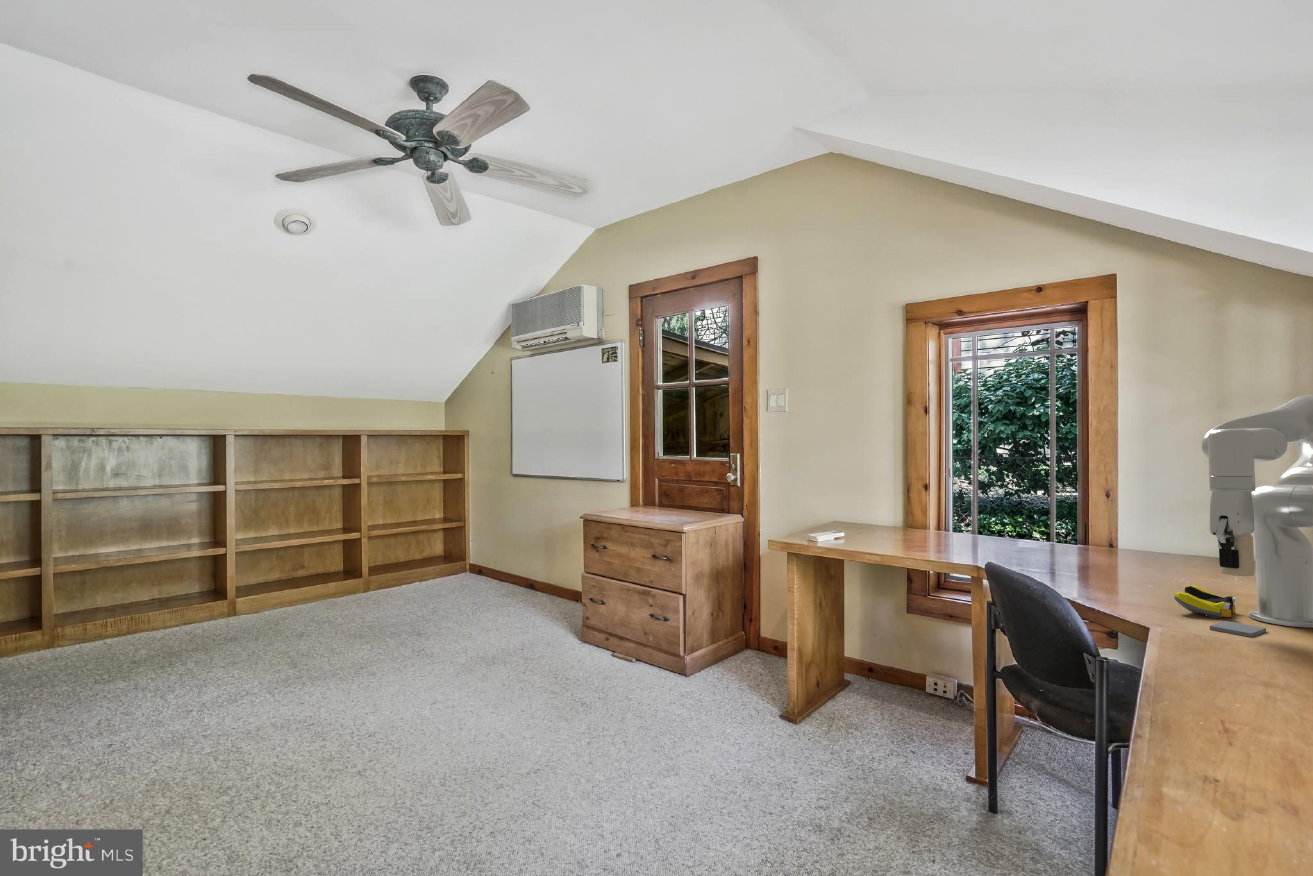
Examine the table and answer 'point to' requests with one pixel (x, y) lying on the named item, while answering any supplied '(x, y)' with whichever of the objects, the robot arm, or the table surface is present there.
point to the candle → (1242, 557)
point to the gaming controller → (1205, 602)
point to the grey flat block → (1238, 628)
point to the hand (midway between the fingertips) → (1235, 565)
